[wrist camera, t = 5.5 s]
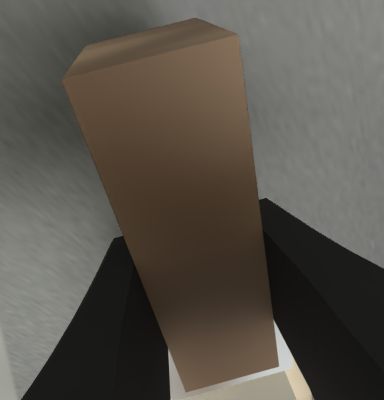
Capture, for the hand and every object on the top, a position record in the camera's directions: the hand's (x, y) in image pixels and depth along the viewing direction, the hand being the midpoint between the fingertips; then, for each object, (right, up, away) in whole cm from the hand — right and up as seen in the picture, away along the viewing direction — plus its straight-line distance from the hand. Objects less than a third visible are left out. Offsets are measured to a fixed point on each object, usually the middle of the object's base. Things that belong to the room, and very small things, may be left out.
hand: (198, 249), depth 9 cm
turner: (0, 0, +3) cm, 3 cm away
